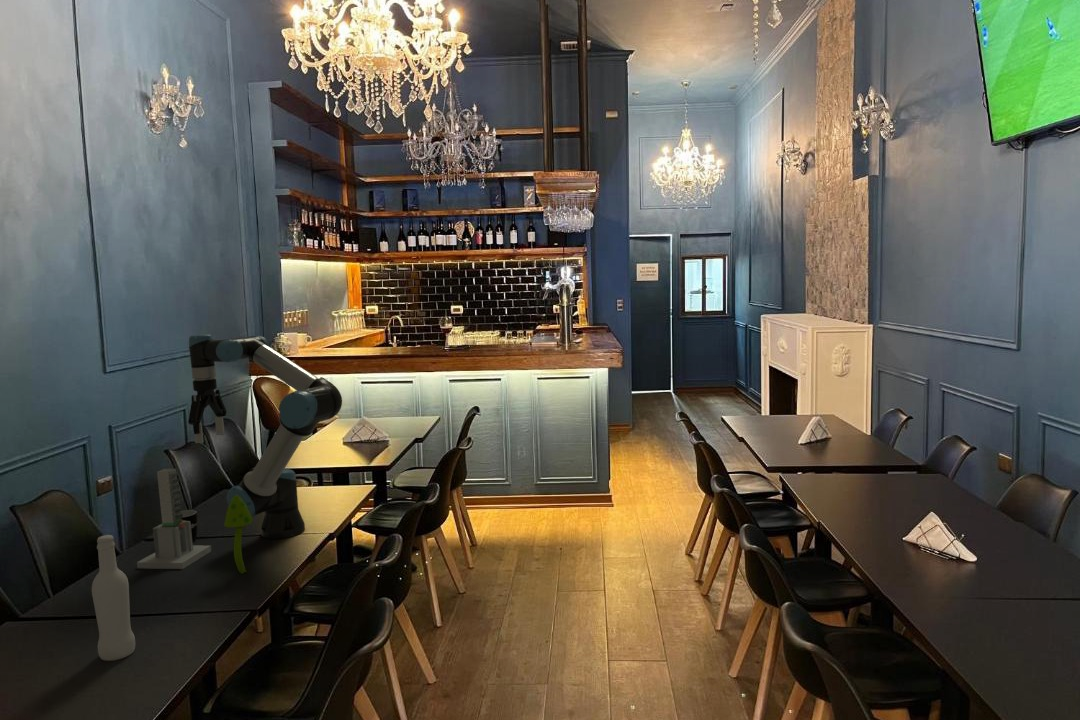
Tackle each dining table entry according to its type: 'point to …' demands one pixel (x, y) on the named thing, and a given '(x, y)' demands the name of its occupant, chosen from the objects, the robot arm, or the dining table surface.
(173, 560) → the stand base
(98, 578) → the bottle
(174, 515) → the column
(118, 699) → the dining table surface
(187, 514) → the mug
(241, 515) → the mushroom
